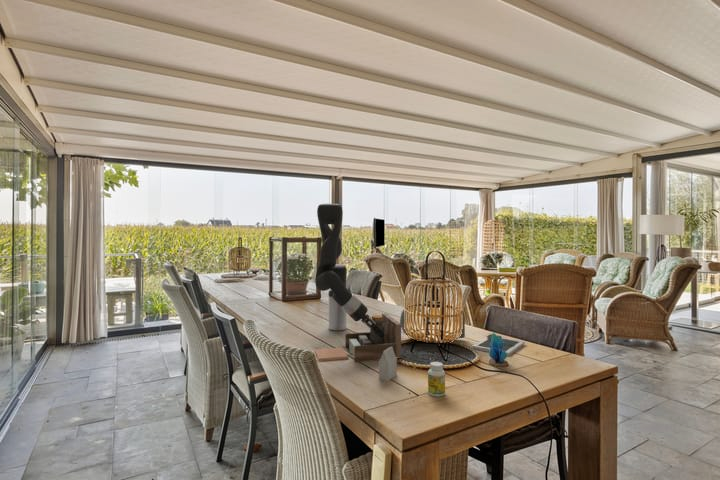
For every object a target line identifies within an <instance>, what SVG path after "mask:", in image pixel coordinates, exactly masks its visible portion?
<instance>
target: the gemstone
mask: <svg viewBox="0 0 720 480" xmlns="http://www.w3.org/2000/svg"><path fill="white" fill-rule="evenodd" d="M491 334H492V339H491V344H490V345H491V348H492V349H491V348H490V350H489V352H488V356H489V357H490V358H489V359H488V364H490V365H491V366H494V367H499V368H502V367H507V366H508V365H509V362H508V361H507V360H506V358H507V356H506V352H505V350H504V351H503V346H504V341H503V340H502V339H501V338H500V337H498V336H499V335H497V334H496V333H495V332H492V333H491ZM502 351H503V352H502Z"/></svg>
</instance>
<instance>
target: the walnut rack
mask: <svg viewBox="0 0 720 480" xmlns="http://www.w3.org/2000/svg"><path fill="white" fill-rule="evenodd" d="M381 316H383V318H382V320H383V323H382V325H383V326H384V334H385V335H384V344H374V345H360V346H354V356H353V358H354V362H355V363H356V362H369V361H370V362H371V361H380V359H381V357H382V354H383V351H385V350H386V349H388V348H390V347H393V351H394V353H395V356H396V357H401V358H402V327H401V324H400V321H398V320H396V319H395V318H393V316H391V315H389V314H388V313H387V312H384V313H381ZM359 335H365V336H366V337H367V338H368V339H369V340H370V331H363V332H362V331H361V332H345V335H344V336H345V341H344V343H345V344H344V346H345V348H349V339H356V340H357V341H358V336H359Z"/></svg>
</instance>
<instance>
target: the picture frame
mask: <svg viewBox="0 0 720 480" xmlns="http://www.w3.org/2000/svg"><path fill="white" fill-rule="evenodd" d="M492 334H493V333H490V334H488V335H487V336H486V338H484V339H482V340H480V341H479V342H476V343H475V344H472V346H471V348H472V350H476V351H481V352H486V353H489V350H490V348H491V345H490V344H491V339H492ZM497 336H498V337H500V338H501V339H502V340H503V341H504V346H503V351H504V350H505V352H506V357H510V356H511V355H512V354H514V353H515V352H517V351H518V350H519V349H521V348H522V347H524V346H525V345H526V343H525V341H522V340H519V339H518V340H517V339H511V338H507V337H502V335H497ZM491 349H492V348H491ZM503 351H502V352H503Z"/></svg>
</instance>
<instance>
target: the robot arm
mask: <svg viewBox="0 0 720 480" xmlns="http://www.w3.org/2000/svg"><path fill="white" fill-rule="evenodd" d="M316 210H317V211H316V215H317V221H318V225H319V230H320V234H321V235H320V236H321V248H320V251H319V252H320V253H319V254H320V255H319V264H318V266H317V271H316V274H315V279H314V280H315V281H314V282H315V286H316V288H317V289H318V290H319V291H321V292H325V291H328V329H329V330H331V331H344V330H347V315H348V316H349V317H350V318H351V319H352V320H353V321H355V322H359V321H360V322H362V324H363V325H365V326H366V327H367V328H368V329H369V330H370V329H372V330H373V331H374V332H375V333H377V334H378V335H379V336H380V337H381V338H382V337H383V336H384V335H385V334H384V333H383V332H382V331H381V330H380V329H379V327H378V326H377V325H376V323H375V322H374V321H373V320H372V316H370V315H369V314H368V311H369V310H368V307H367V306H366V305H365V304H364V303H363V302H362V301H361V300H360V299H359V298H358V297H357V296H355V295H354V294H353V293H352V292H351V291H350V290H349V289H348V288H347V276H348V275H347V273H348V271H347V267H346V265H345V264H344V265H341V264H339V265H337V259H339V257H340V256H341V254H342V251H343V249H342V248H343V247H342V245H343V244H342V241H341V240H342V239H341V238H340V234H341V229H342V224H343V214H344V211H343V206H342V205H341V204H340V203H320V204H318V206H317V209H316ZM330 225H333V228H331V227H330ZM375 326H376V328H375V329H373V328H374V327H375Z"/></svg>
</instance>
